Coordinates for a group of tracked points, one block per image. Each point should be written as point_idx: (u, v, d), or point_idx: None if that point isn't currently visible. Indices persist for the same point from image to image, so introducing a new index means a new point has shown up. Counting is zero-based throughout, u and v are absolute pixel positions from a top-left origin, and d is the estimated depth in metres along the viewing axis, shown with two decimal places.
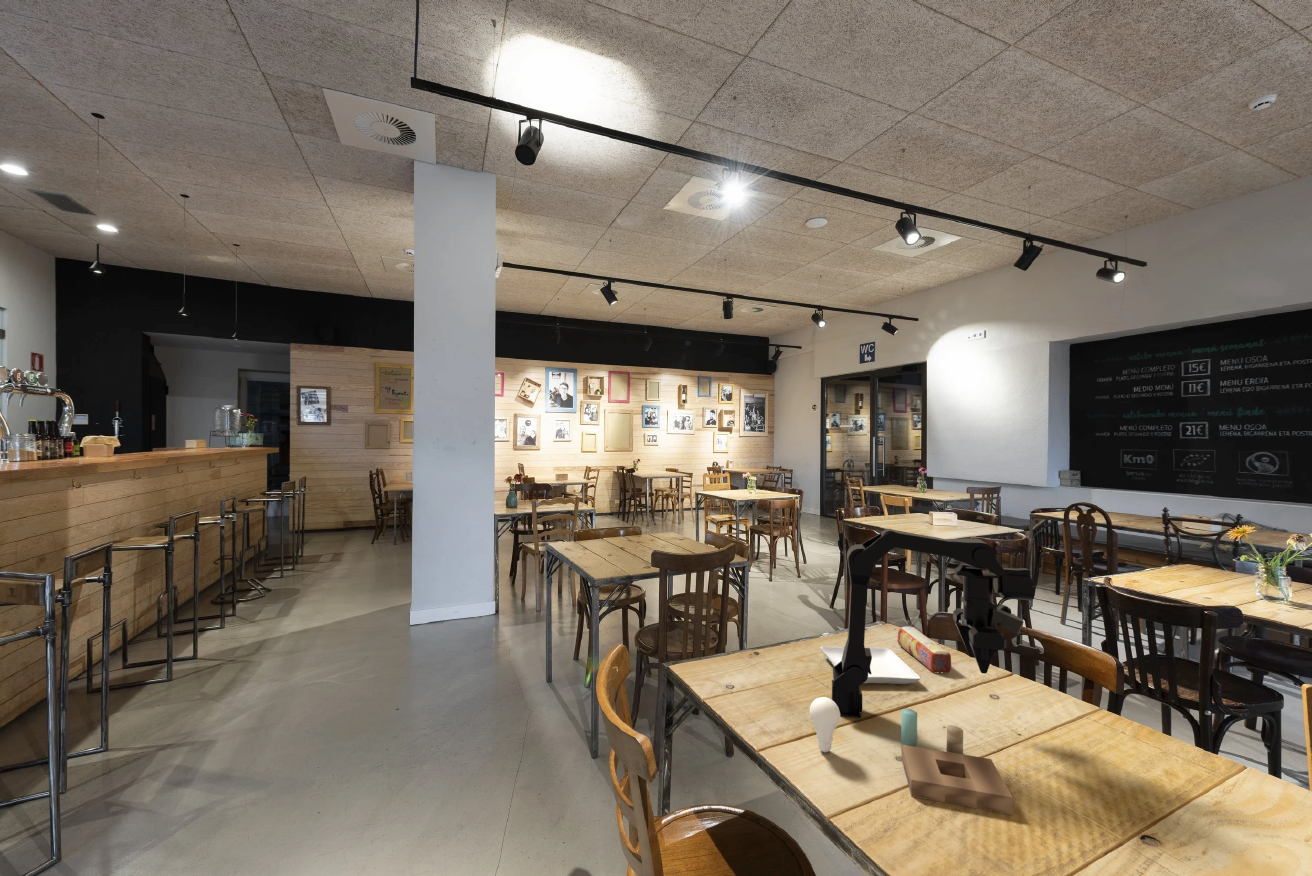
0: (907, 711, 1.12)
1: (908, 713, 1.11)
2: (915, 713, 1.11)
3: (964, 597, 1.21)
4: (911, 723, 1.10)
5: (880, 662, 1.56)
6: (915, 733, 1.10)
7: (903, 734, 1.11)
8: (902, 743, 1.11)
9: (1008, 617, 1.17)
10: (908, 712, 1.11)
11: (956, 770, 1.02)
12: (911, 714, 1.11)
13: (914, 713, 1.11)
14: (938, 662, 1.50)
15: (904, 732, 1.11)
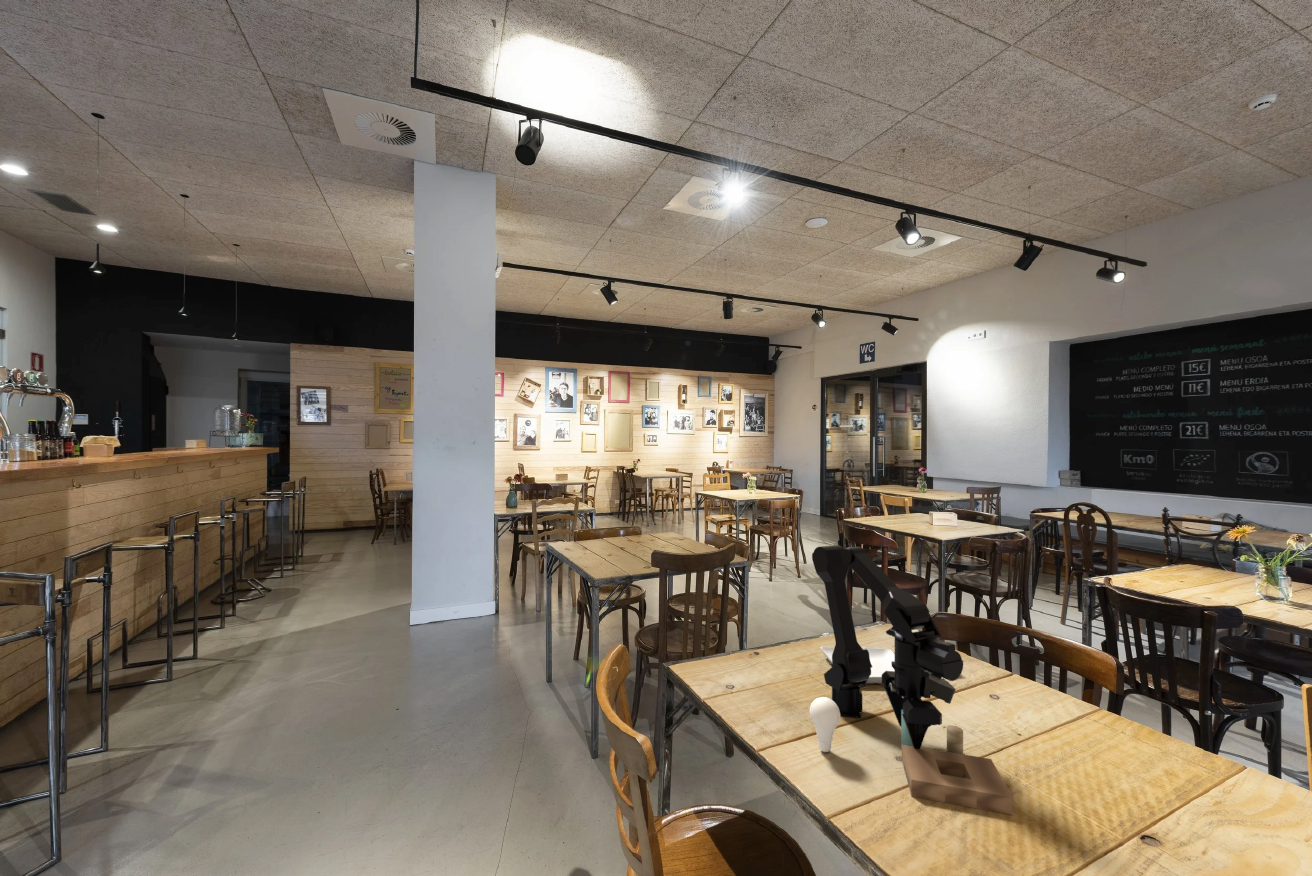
0: None
1: None
2: None
3: (896, 664, 1.12)
4: None
5: (880, 662, 1.56)
6: None
7: (903, 734, 1.11)
8: (902, 743, 1.11)
9: (940, 685, 1.09)
10: None
11: (956, 770, 1.02)
12: None
13: None
14: None
15: (904, 732, 1.11)
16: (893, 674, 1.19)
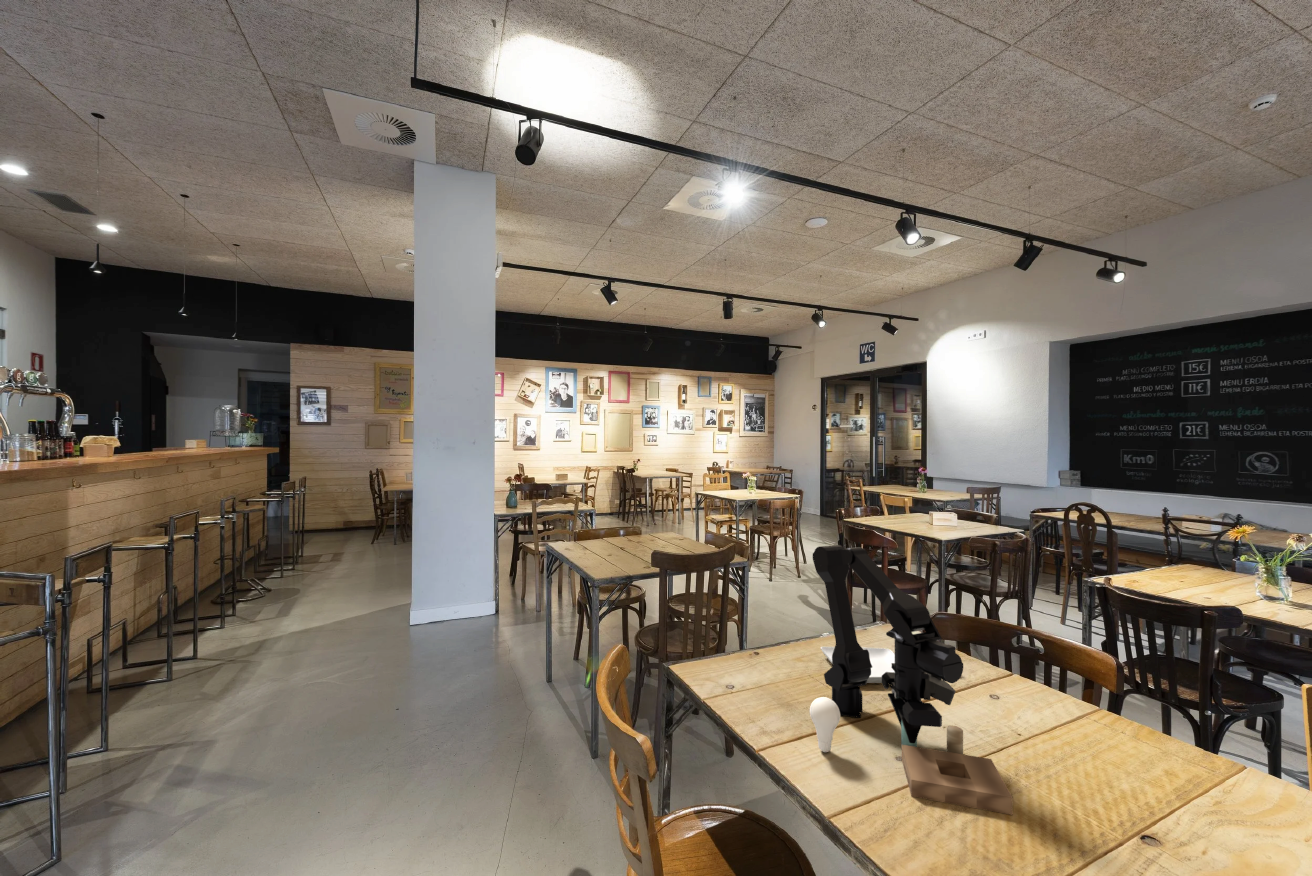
0: None
1: None
2: None
3: (896, 666, 1.12)
4: None
5: (880, 662, 1.56)
6: None
7: (903, 734, 1.11)
8: (902, 743, 1.11)
9: (940, 687, 1.09)
10: None
11: (956, 770, 1.02)
12: None
13: None
14: None
15: (904, 732, 1.11)
16: (893, 675, 1.19)
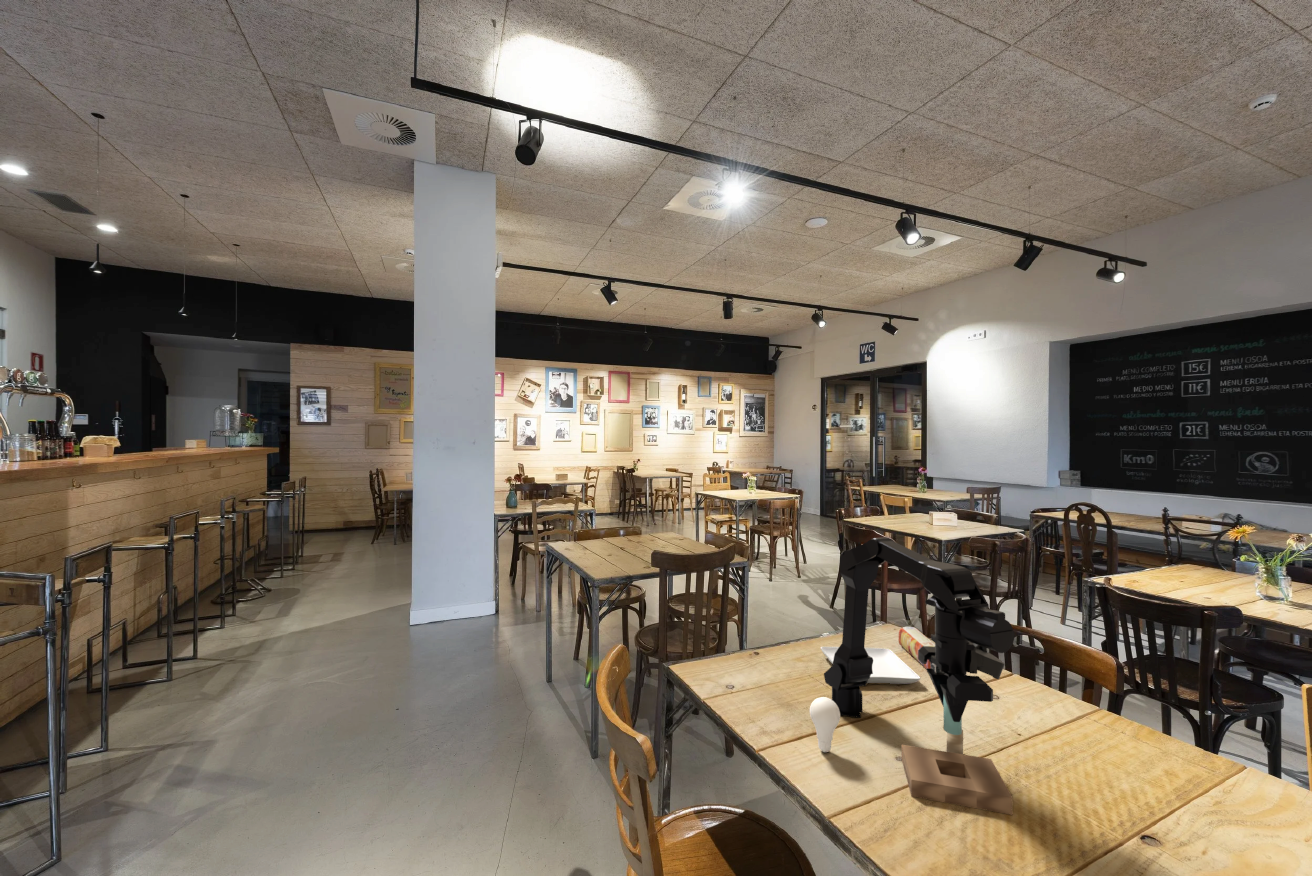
0: None
1: None
2: None
3: (937, 636, 1.01)
4: None
5: (880, 662, 1.56)
6: None
7: (946, 712, 1.00)
8: (945, 722, 1.00)
9: (988, 659, 0.98)
10: None
11: (956, 770, 1.02)
12: None
13: None
14: None
15: (947, 710, 1.00)
16: (931, 649, 1.08)
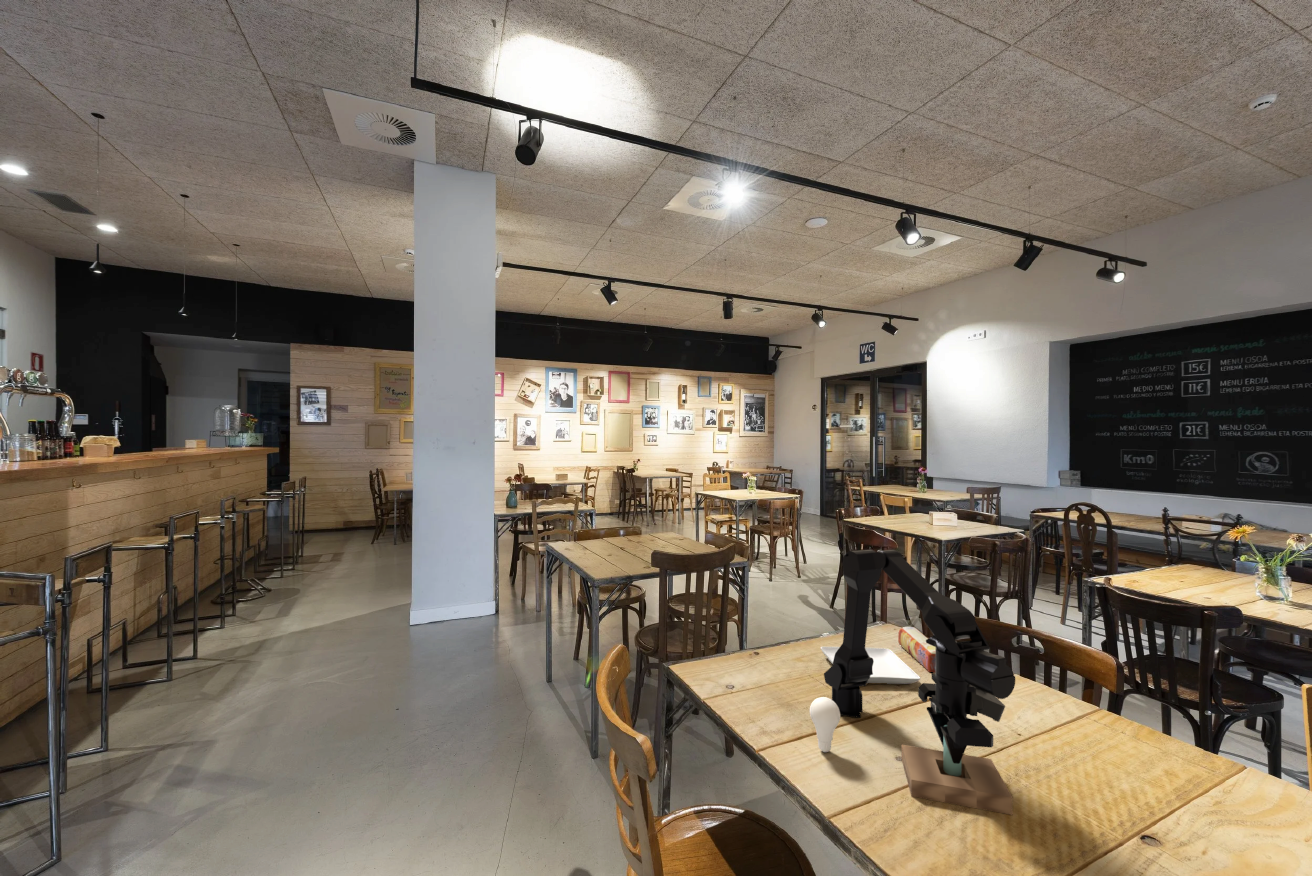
0: None
1: None
2: None
3: (937, 677, 1.00)
4: None
5: (880, 662, 1.56)
6: None
7: (946, 753, 1.00)
8: (944, 763, 1.00)
9: (988, 702, 0.97)
10: None
11: None
12: None
13: None
14: (934, 662, 1.50)
15: (947, 751, 1.00)
16: (932, 687, 1.07)
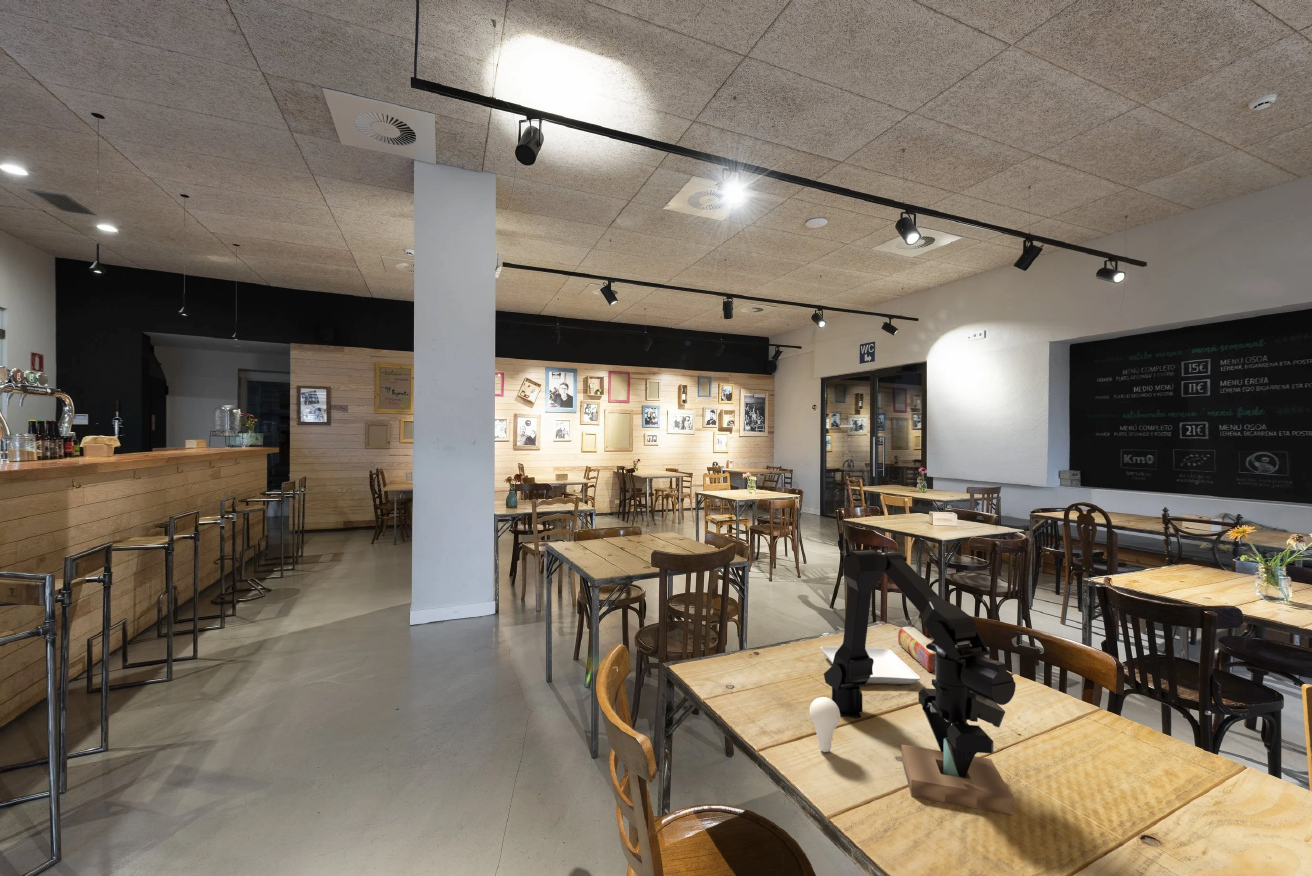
0: None
1: None
2: None
3: (938, 683, 1.00)
4: None
5: (880, 662, 1.56)
6: None
7: (946, 767, 1.00)
8: None
9: (989, 707, 0.97)
10: None
11: None
12: None
13: None
14: (934, 662, 1.50)
15: (947, 764, 1.00)
16: (932, 692, 1.07)
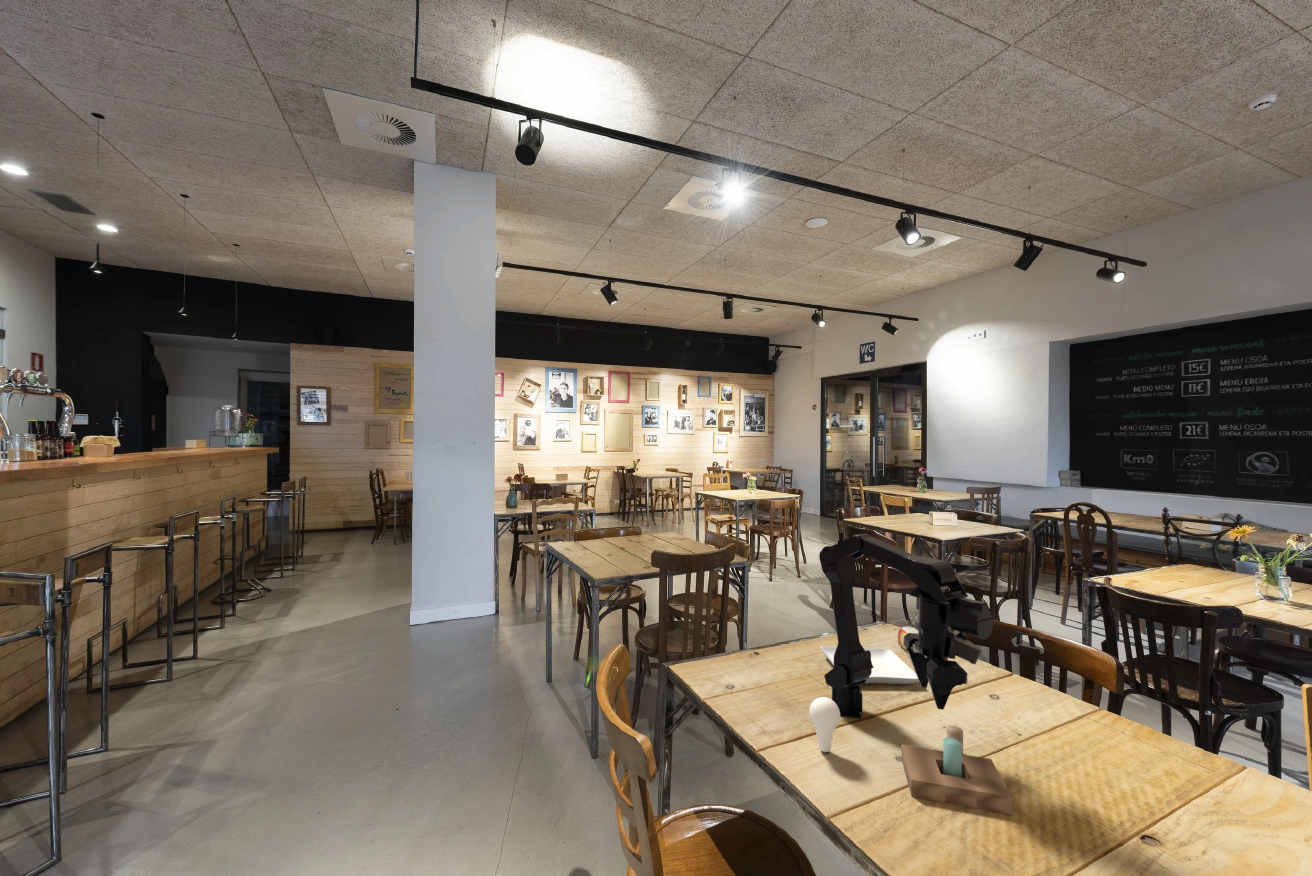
0: (950, 740, 1.01)
1: (952, 743, 1.00)
2: (959, 743, 1.00)
3: (920, 624, 1.10)
4: (955, 755, 0.99)
5: (880, 662, 1.56)
6: (960, 766, 0.99)
7: (946, 767, 1.00)
8: None
9: (966, 646, 1.06)
10: (951, 742, 1.00)
11: None
12: (955, 744, 0.99)
13: (957, 743, 1.00)
14: None
15: (947, 764, 1.00)
16: (916, 636, 1.17)
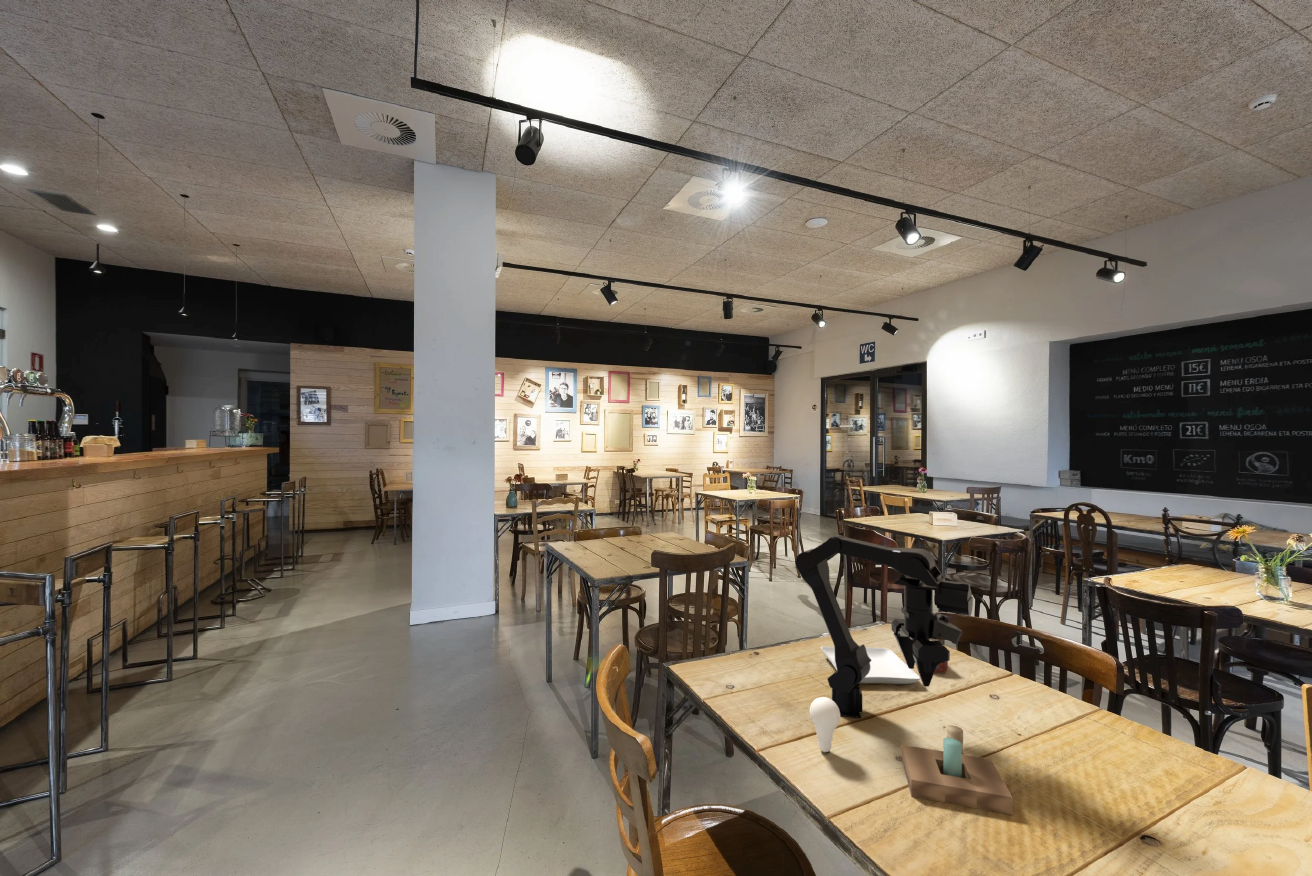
0: (949, 740, 1.01)
1: (952, 743, 1.00)
2: (959, 743, 1.00)
3: (906, 609, 1.19)
4: (955, 755, 0.99)
5: (880, 662, 1.56)
6: (960, 766, 0.99)
7: (946, 767, 1.00)
8: None
9: (948, 627, 1.16)
10: (951, 742, 1.00)
11: None
12: (955, 744, 0.99)
13: (957, 743, 1.00)
14: None
15: (947, 764, 1.00)
16: (902, 621, 1.26)
